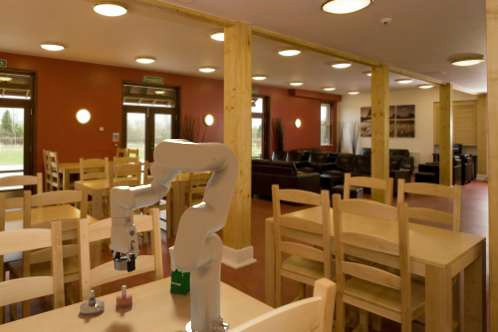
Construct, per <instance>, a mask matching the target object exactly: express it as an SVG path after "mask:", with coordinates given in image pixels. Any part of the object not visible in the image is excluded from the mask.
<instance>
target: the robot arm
mask: <svg viewBox="0 0 498 332" xmlns="http://www.w3.org/2000/svg"><path fill="white" fill-rule="evenodd" d="M153 159H154V162H153V163H151V165H150V168H149V172H150V175H151V177H152V178H153V179H152V181H150V182H149V183H148V184H143V185H137V186H133V187H130V186H128V185H119V186H113V187H112V188H111V189H110V191H109V197H110V217H111V218H110V221H111V226H110V227H111V228H110V243H109V245H108V247H109V249H110V252H111V254H112V258H113V265H114V266H113V269H115V259H117V258H120V257H123V255H122V254H125V255H126V256H125V257H127V259H128V261H127V270H126V271H127V273H131V272H134V271H136V260H137V257H138V256H139V255H140V252H141V251H140V249H139V240H138V232H137V227H136V224H135V223H134V221H135V219H134V210H137V209H142V208H145V207H150V206H153V205H156V204H157V203H158V202H159V201H160V200H162V199H163V198H164V197H165V196H166V195H167V194H168V192H170V189H171V186H172V182H173V181H174V180H175V179H176V178H177V177H178V176H179V175H180V174H181V173H183V172H184V173H185V172H186V173H192V174H193V173H197V174H198V173H206V172H207V173H208V172H212V175H210V178H209V179H208V181H207V183H206V186H205V189H204V194H203V198H202V200H201V202H200V203H197V204H194V205H191V206H190V207H188V208H186V209H185V210H184V212H183V213H182V215H181V217H180V219H179V223H178V227H177V231H176V234H175V238H174V239H175V240H174V245H173V246H174V248H173V260H174V263H175V265H176V267H177V268H178V269H179V270H180V271H183V272H191V274H190V292H189V295H190V297H189V299H190V300H189V301H190V303H189V307H190V309H189V311H190V312H189V313H190V314H189V315H190V321H189V322H188V323H187V324H186V326H185V332H195V331H198V332H225V331H227V330H228V331H229V329H230V324H229V323H225V322H224V316H222V315H221V272H222V271H221V269H222V261H223V254H224V244H223V240H222V238H221V237H220V236H219V235H218V233H217V232H218V231H220V230H222V229H223V228H224V227H225V225H226V223H227V220H228V216H229V211H230V207H231V204H232V199H233V195H234V191H235V189H236V184H237V181H238V178H239V172H240V163H239V159H238V156H237V154H236V153H235V151H234V150H233V149H232V148H231V147H230V146H228V145H227V144H225V143H222V142H197V143H196V142H195V143H194V142H191V141H190V140H188V139H182V138H181V139H174V138H173V139H164V140H161V141H160V142H158V143H157V144H156V146H155V147H154V149H153Z"/></svg>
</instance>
